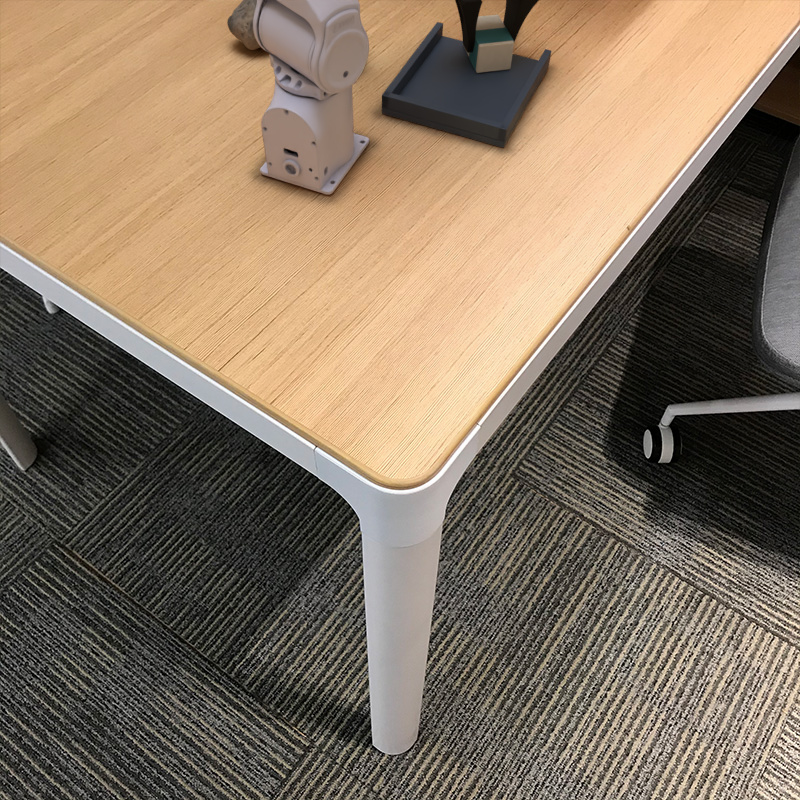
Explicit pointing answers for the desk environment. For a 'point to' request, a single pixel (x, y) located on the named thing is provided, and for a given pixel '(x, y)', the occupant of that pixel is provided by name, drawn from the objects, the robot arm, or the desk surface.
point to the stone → (244, 23)
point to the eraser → (491, 45)
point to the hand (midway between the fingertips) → (487, 45)
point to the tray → (462, 91)
